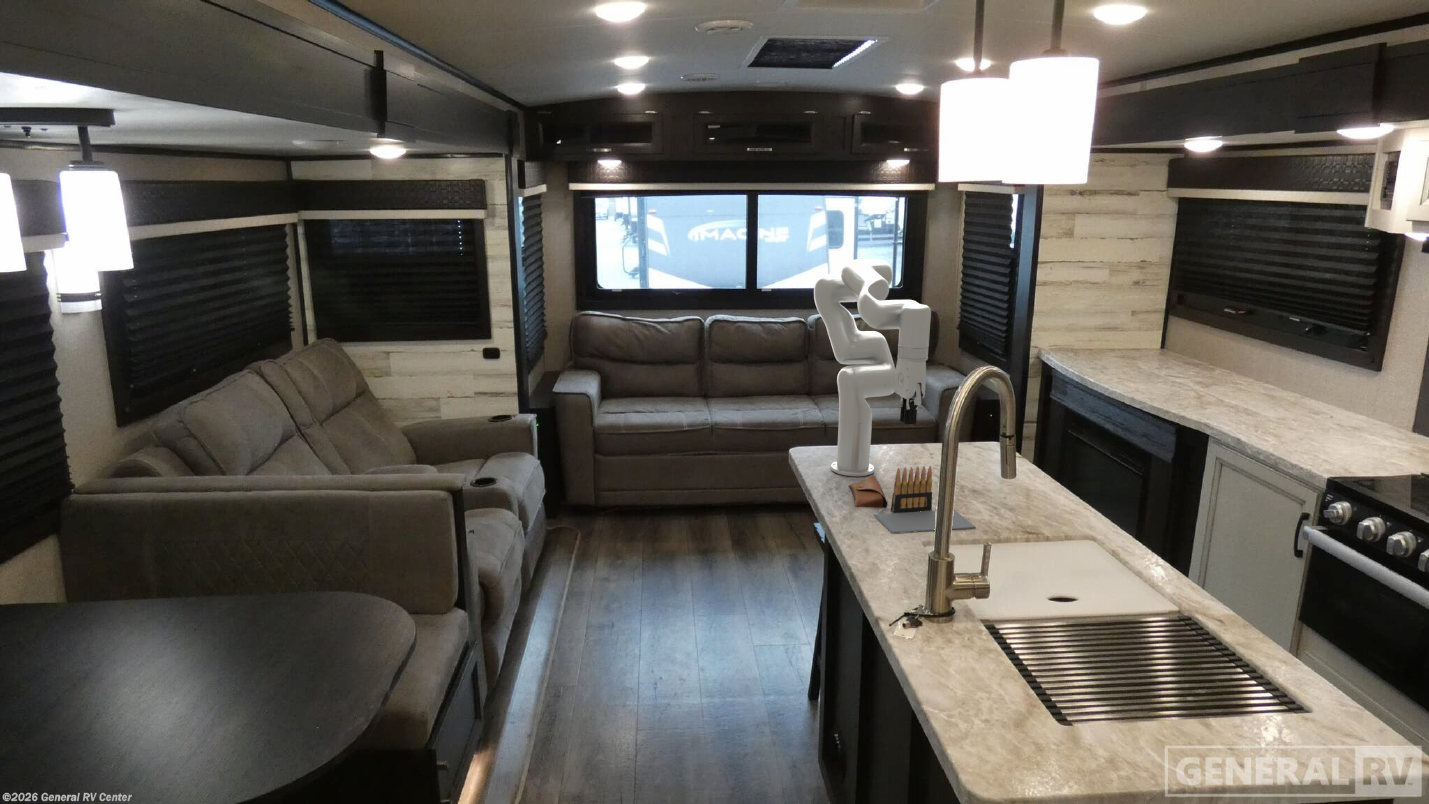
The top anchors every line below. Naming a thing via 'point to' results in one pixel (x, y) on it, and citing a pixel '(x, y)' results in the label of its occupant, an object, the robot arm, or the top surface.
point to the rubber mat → (918, 521)
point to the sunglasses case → (868, 493)
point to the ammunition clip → (912, 492)
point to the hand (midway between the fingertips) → (907, 422)
